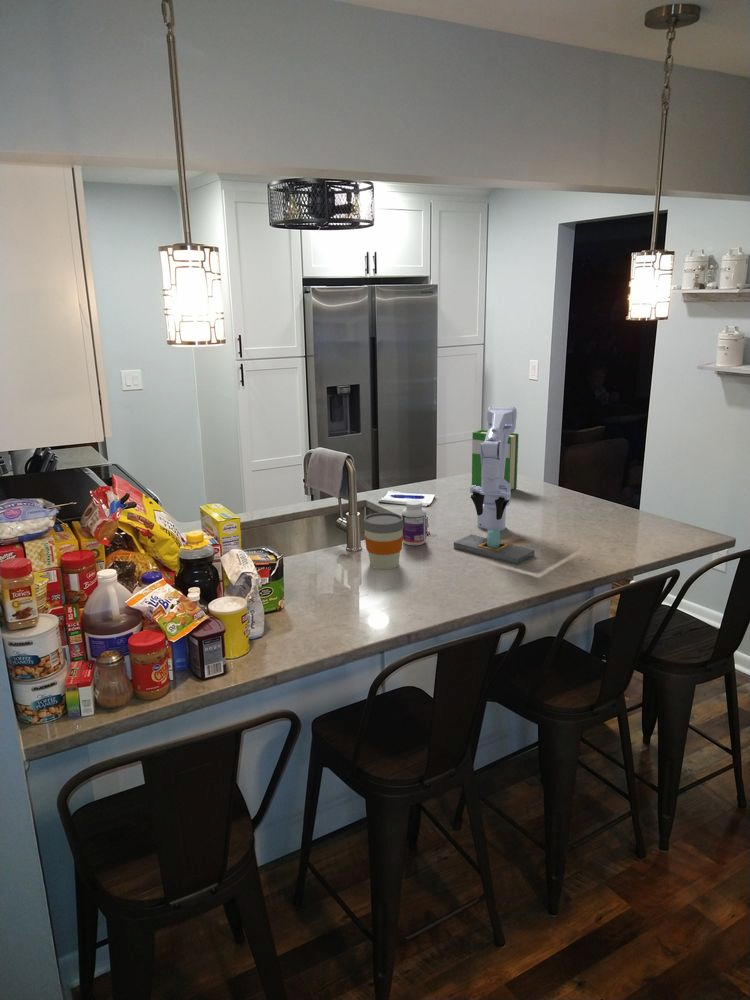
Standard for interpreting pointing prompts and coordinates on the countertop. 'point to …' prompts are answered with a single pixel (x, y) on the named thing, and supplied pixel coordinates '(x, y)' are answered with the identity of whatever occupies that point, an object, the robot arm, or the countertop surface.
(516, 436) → the hardback book
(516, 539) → the brown square coaster
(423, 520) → the pill bottle
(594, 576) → the countertop surface
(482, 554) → the grey peg hole board
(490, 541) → the peg
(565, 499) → the countertop surface
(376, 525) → the reusable coffee cup
